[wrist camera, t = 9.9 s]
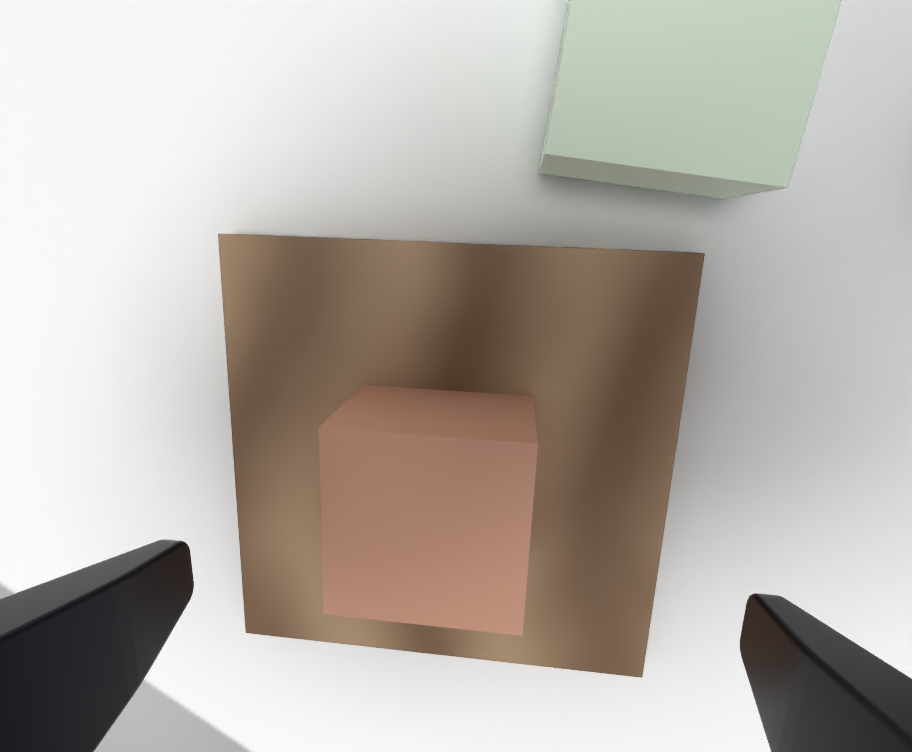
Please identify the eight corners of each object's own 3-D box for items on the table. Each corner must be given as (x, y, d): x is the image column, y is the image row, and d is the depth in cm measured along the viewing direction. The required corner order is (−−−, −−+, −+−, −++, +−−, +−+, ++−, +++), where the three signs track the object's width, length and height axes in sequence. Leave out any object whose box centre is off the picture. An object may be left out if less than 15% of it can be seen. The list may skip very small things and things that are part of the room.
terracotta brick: (533, 396, 19) (537, 443, 14) (521, 550, 20) (522, 635, 16) (363, 385, 19) (318, 427, 15) (363, 535, 21) (323, 613, 17)
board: (694, 252, 18) (704, 253, 17) (636, 658, 22) (642, 677, 21) (232, 234, 20) (217, 234, 19) (256, 616, 24) (245, 632, 23)
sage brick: (775, -11, 16) (870, -102, 12) (721, 199, 18) (787, 187, 13) (574, -34, 17) (594, -130, 12) (538, 173, 18) (544, 153, 14)
